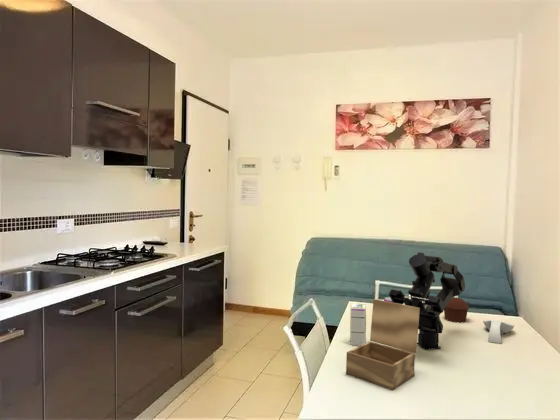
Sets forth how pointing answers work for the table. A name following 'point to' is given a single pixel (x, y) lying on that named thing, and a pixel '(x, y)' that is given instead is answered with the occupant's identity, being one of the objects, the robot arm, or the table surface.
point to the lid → (395, 325)
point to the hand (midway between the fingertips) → (407, 320)
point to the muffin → (456, 310)
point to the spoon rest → (497, 329)
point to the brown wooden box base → (380, 365)
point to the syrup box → (358, 324)
